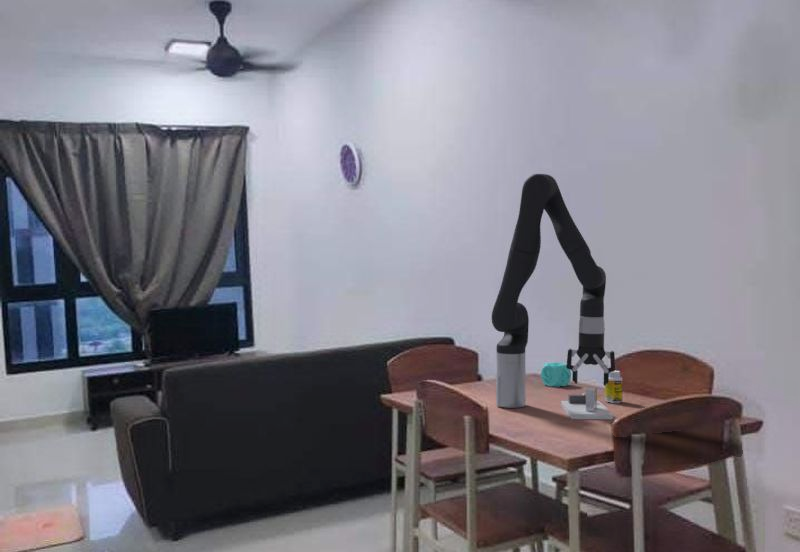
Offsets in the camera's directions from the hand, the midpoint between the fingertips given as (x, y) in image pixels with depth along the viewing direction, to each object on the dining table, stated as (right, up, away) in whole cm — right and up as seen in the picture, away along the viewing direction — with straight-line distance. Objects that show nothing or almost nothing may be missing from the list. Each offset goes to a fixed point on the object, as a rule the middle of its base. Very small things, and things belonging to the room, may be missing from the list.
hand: (590, 384), depth 227 cm
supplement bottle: (+12, -9, +18) cm, 23 cm away
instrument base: (-1, -9, +3) cm, 9 cm away
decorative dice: (0, -8, +51) cm, 51 cm away
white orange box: (0, -8, 0) cm, 8 cm away
